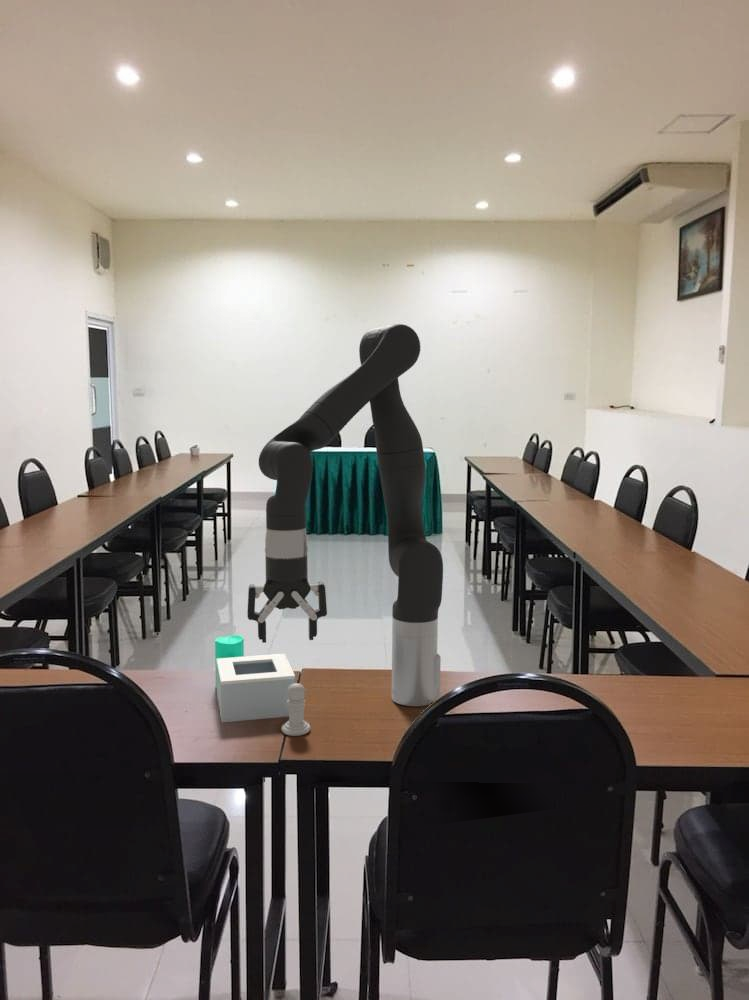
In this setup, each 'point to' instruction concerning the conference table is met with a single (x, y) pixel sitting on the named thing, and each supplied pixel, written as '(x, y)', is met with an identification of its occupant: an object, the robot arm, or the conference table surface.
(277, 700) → the tissue box
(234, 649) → the candle
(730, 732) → the conference table surface
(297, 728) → the chess piece
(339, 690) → the conference table surface
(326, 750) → the conference table surface
